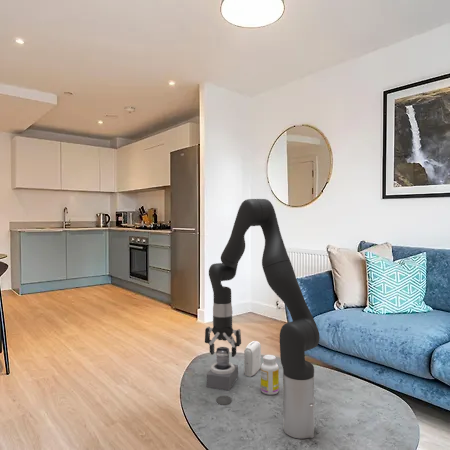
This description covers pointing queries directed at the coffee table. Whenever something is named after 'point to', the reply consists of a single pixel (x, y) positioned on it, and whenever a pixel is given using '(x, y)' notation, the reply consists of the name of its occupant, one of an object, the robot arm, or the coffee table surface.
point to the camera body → (222, 377)
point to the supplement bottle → (269, 375)
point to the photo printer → (252, 358)
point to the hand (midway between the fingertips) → (222, 355)
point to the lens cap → (223, 400)
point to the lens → (222, 358)
